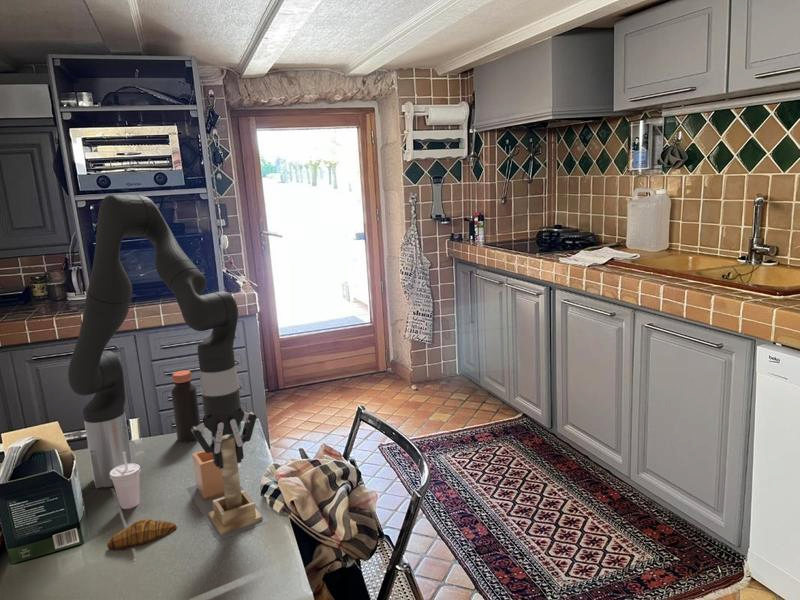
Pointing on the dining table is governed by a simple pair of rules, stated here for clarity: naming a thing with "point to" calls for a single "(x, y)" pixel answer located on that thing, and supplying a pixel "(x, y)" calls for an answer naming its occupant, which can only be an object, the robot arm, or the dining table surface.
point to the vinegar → (185, 406)
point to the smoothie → (126, 483)
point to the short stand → (234, 514)
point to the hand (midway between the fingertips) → (229, 464)
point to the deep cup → (207, 475)
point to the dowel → (230, 473)
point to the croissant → (140, 534)
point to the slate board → (207, 507)
